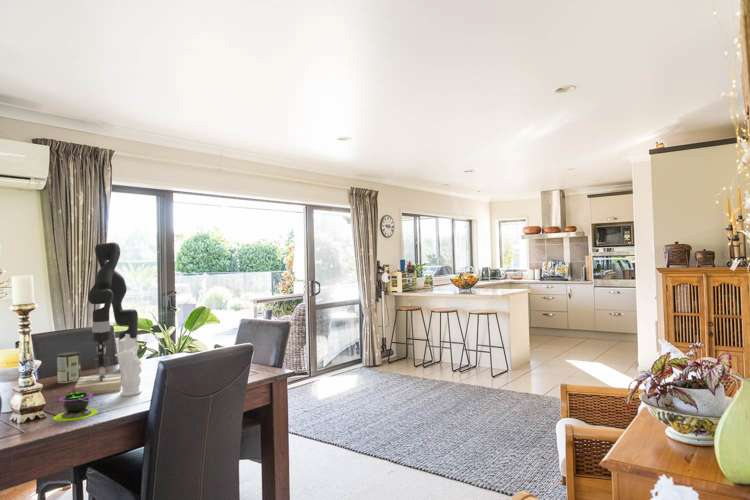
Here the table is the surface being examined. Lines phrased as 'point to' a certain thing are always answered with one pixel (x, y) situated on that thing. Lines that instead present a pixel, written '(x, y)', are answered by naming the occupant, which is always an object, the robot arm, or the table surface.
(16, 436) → the table surface
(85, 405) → the toy cauldron
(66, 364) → the grey-green carton
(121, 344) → the milk
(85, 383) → the dial board
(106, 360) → the lever
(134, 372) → the cherub figurine
